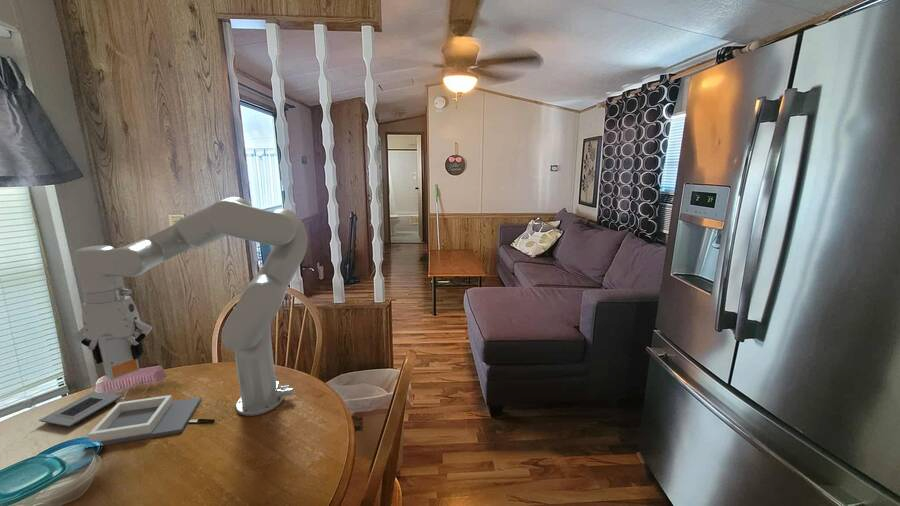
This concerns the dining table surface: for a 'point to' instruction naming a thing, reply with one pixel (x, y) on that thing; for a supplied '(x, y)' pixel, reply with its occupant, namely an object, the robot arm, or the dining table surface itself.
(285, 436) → the dining table surface
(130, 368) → the skincare box
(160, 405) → the holder board
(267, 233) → the robot arm
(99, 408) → the grey slotted tray
